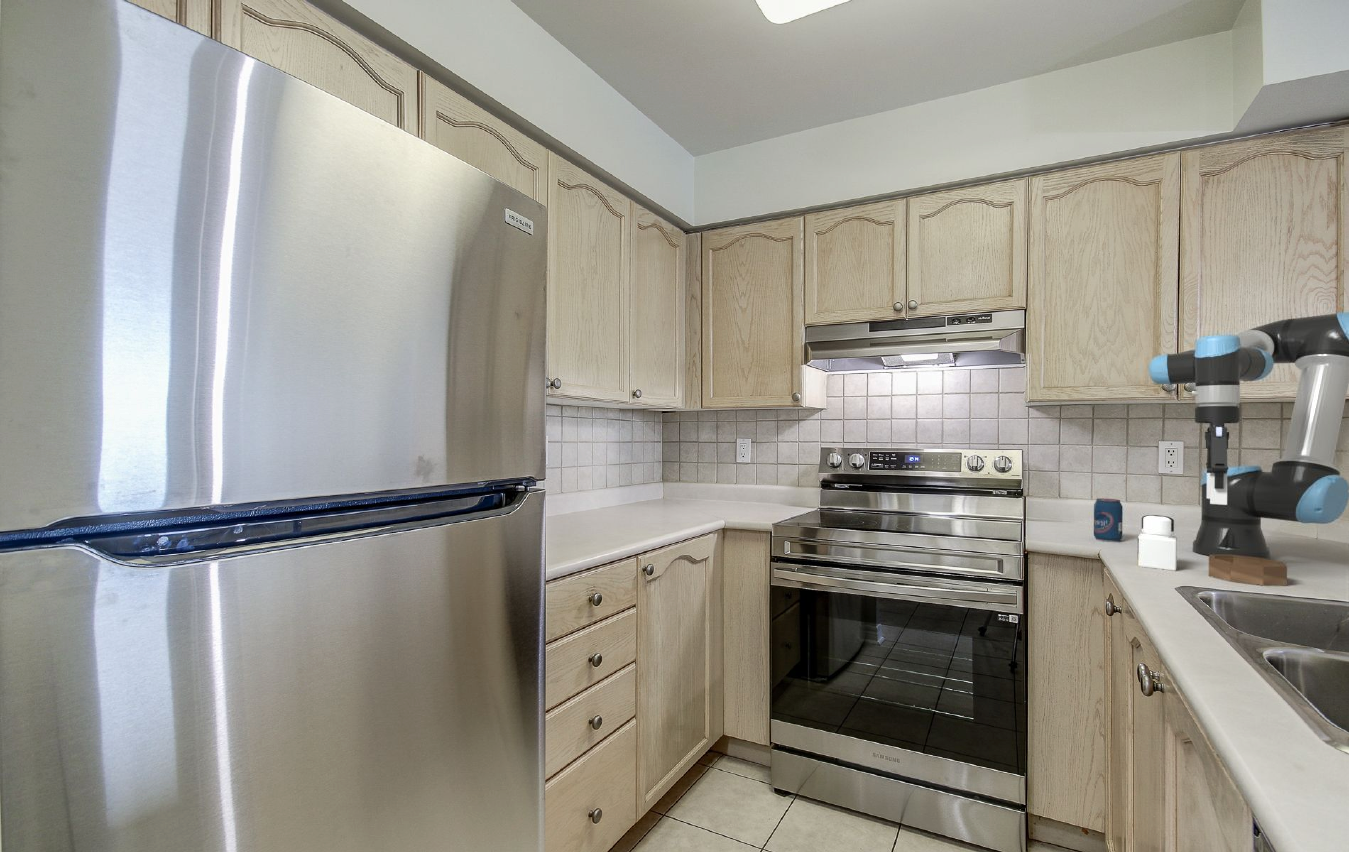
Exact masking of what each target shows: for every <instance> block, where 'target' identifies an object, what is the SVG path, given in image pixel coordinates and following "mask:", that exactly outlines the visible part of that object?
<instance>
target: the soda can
mask: <svg viewBox="0 0 1349 852" xmlns="http://www.w3.org/2000/svg"><path fill="white" fill-rule="evenodd" d="M1123 509H1124V508H1123V505H1122V503H1121V500H1120V499H1115V498H1104V497H1103V498H1099V497H1098V498H1096V500H1095V502H1094V504H1093V536H1094V538H1095V539H1096V540H1097V541H1100V542H1107V543H1120V541H1121V540H1122V539H1123V515H1124V514H1123Z"/></svg>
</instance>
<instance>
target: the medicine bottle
mask: <svg viewBox="0 0 1349 852" xmlns="http://www.w3.org/2000/svg"><path fill="white" fill-rule="evenodd" d="M1174 534H1175V520H1174V519H1173V518H1172V517H1170V516H1167V515H1160V514H1159V515H1157V514H1146V515H1143V516H1142V517H1141V532H1140V533H1139V535H1138V537H1137V567H1138V568H1146V569H1154V568H1157V569H1156V570H1162V569H1164V571H1170V570H1171V571H1172V572H1176V571H1177V568H1178V567H1177V566H1178V537H1177V536H1176V535H1174Z"/></svg>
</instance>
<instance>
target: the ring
mask: <svg viewBox="0 0 1349 852" xmlns="http://www.w3.org/2000/svg"><path fill="white" fill-rule="evenodd" d="M1211 576H1213V577H1212V578H1215V577H1216V578H1215V579H1219V578H1222V579H1221V580H1223V579H1225V580H1224V581H1226V580H1227V581H1226V582H1230V581H1234V582H1233V583H1239V584H1246V583H1250V584H1249V585H1253V584H1259V585H1258V586H1261V585H1287V586H1288V566H1287V563H1286V562H1283V561H1277V560H1275V559H1274V560H1273V559H1265V558H1258V557H1249V556H1239V555H1208V577H1211Z"/></svg>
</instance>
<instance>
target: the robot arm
mask: <svg viewBox="0 0 1349 852" xmlns="http://www.w3.org/2000/svg"><path fill="white" fill-rule="evenodd" d="M1275 364H1294V365H1295V367H1296V368H1298V369H1299V370H1300V371H1301V372H1300V377H1299V382H1298V386H1297V391H1296V395H1295V401H1294V403H1293V404H1294V405H1293V408H1292V409H1293V410H1292V414H1291V419H1290V422H1289V428H1288V433H1287V437H1286V440H1285V447H1284V451H1283V456H1282V458H1280V459H1277V460H1275V461H1274V462H1273V463H1272V468H1271V471H1263V469H1262V466H1261V465H1242V466H1239V465H1238V466H1228V449H1229V440H1230V431H1228V428H1227V426H1225V424H1238V423H1240V422H1241V421H1240V420H1241V419H1240V418H1241V417H1240V414H1241V413H1240V412H1241V410H1240V409H1241V408H1240V407H1239V406H1237V405H1238V404H1240V403H1241V385H1240V384H1241V381H1242V382H1256V381H1260V380H1262V379H1265V378H1266V377H1267V376H1269V375H1270V374H1271V373H1272V371H1273V369H1274V365H1275ZM1148 367H1149V368H1148V372H1149V373H1148V374H1149V377H1150V379H1151V380H1152V381H1153V383H1155V384H1156V385H1169V386H1172V385H1180V384H1181V385H1183V384H1185V385H1186V384H1194V385H1195V390H1193V391H1191V395H1192V396H1195V403H1194V404H1196V405H1198V406H1196V407H1195V408H1194V422H1195V423H1197V424H1209V427H1207V429H1206V431H1204V440H1205V448H1206V451H1207V454H1206V463H1205V465H1206V469H1204V471H1203V472H1202V474H1201V475H1202V476H1201V483H1200V487H1201V512H1200V513H1201V519H1200V521H1201V523H1200V525H1199V528H1198V531H1197V533H1196V537H1195V539H1194V540H1193V541H1192V551H1193V552H1194V553H1197V554H1200V555H1201V554H1202V555H1206V556H1209V555H1239V556H1249V557H1258V558H1265V559H1269V560H1271V550H1270V548H1269V547H1268V546H1267V542H1266V538H1265V536H1264V533H1263V530H1262V526H1261V521H1262V519H1269V520H1270V519H1271V520H1279V521H1285V522H1286V521H1289V522H1297V523H1302V524H1320V525H1321V524H1322V525H1323V524H1325V525H1326V524H1330V523H1331V524H1332V522H1335V521H1337V519H1339V518H1340V517H1341V516H1342V515H1343V513H1344V511H1345V509H1346V507H1347V505H1348V502H1349V483H1348V480H1346V478H1344V477H1343V476H1341V475H1340V474H1341V472H1340V471H1341V470H1339V468H1338V467H1336V466H1335V465H1334V463H1333V462H1334V459H1335V452H1336V448H1337V443H1338V438H1339V433H1340V430H1341V429H1340V428H1341V423H1342V418H1343V413H1344V408H1345V403H1346V399H1347V395H1348V390H1349V311H1348V312H1347V311H1346V312H1341V311H1339V312H1337V313H1330V314H1322V315H1321V314H1320V315H1314V316H1304V317H1298V318H1297V317H1296V318H1288V319H1281V320H1278V321H1277V320H1276V321H1273V322H1270V323H1265V324H1263V325H1259V326H1257V327H1253V328H1250V329H1246V330H1244V331H1241V332H1239V333H1237V334H1214V335H1206V336H1203V337H1199V338H1197V340H1196V341H1195V348H1193V349H1192V348H1191V349H1190V350H1185V351H1182V352H1179V353H1170V354H1169V353H1166V354H1161V355H1155V356H1154V357H1153V358H1152V359H1151V361H1150V363H1149V366H1148Z"/></svg>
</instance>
